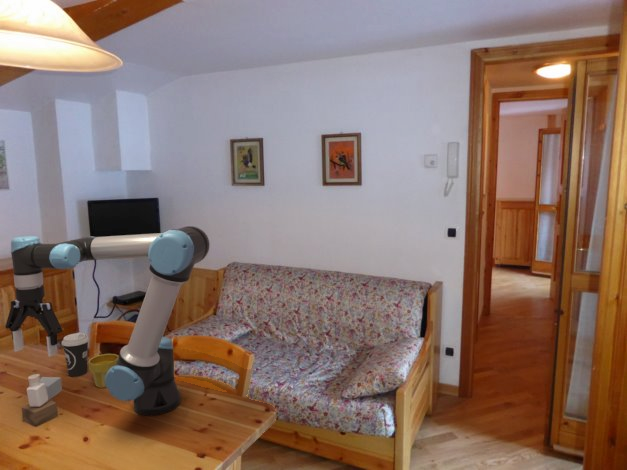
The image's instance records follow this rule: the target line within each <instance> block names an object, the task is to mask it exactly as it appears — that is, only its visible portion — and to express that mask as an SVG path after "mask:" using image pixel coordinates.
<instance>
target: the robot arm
mask: <svg viewBox="0 0 627 470" xmlns="http://www.w3.org/2000/svg"><path fill="white" fill-rule="evenodd" d="M210 245H211V244H210V239H209V236H208V235H207V234H206V232H205V231H204V230H202V229H201V228H199V227H196V226H189V225H188V226H183V227H181V228H171V229H169V230H167V231H165V232H161V233H160V232H159V233H157V232H155V233H141V234H125V235H110V236H92V235H91V236H90V235H89V236H83V237H81V238H75V239H70V240H67V241H62V242H56V243H42V242H41V241H40V237H38V236H37V235H26V236H24V235H23V236H18V237H13V239H11V242H10V253H11V260H12V268H13V269H12V270H13V281H14V287H15V291H14V292H15V300H11V302H10V310H9V313H8V316H7V320H6V322H5V329H9V331H11V338H12V342H13V350H14V351H13V352H14V353H17V352H20V351H22V350H24V349H25V346H24V336H23V335H24V334H23V329H22V325H23V323H24V322H25V320H26V318H27V317H31V318H34V319H35V320H37V321H38V322H39V323H40V325H41V327H42V328H43V330H45V332H46V333H47V335H46V347H47V356H48V357H49V358H50V357H54V355H57V354H58V334H60V333H62V332H63V328H62V325H61V323H60V322H59V320H58V317H57V316H56V314H55V311H54V309H53V304H52V302H47V303H44V302H43V299H44V298H45V287H44V285H43V284H44V275H43V269H50V270H51V269H53V270H54V269H55V270H67V269H69V270H71V269H74V268H76V267H77V265H78V264H79V263H81V262H86V261H100V260H101V261H102V260H115V259H116V260H117V259H118V260H119V259H120V260H121V259H142V258H143V259H144V258H148V260H149V262H150V263H149V267H148V271H149V273H150V274H151V279H150V280H149V283H148V287H147V289H146V293H145V297H144V298H143V301H142V304H141V308H140V310H139V312H138V316H137V318H136V321H135V324H134V328H133V330H132V333H131V335H130V337H129V341H128V344H126V345H124V346H123V347H121V349H120V351H119V354H118V359H117V362H116V364H115V366H113V367H111V368H110V369H109V371H108V372H107V373H106V376H105V384H106V387H105V388H106V389H108V392H109V394H110V395H111V396H112V397H114V398H115V399H117V400H118V401H122V402H130V401H131V402H132V401H133V403H132V404H133V405H132V406H133V410H134V412H135V413H137V414H138V415H141V416H158V415H163V414H165V413H168V412H170V411H173V410H174V409H176V408H178V406H180V404H181V402H182V401H181V399H182V397H181V393H180V390H179V389H178V385H177V384H176V380H175V366H174V346H173V340H172V339H171V338H169V337H167V336H164V333H165V330H166V328H167V327H168V323H169V320H170V317H171V315H172V311H173V308H174V307H175V303H176V300H177V298H178V295H179V291H180V289H181V287H182V285H183V284H185V283H187V282H188V281H189V280H190V277H191V274H192V272H193V269H194V268H195V267H194V266H195V265H196V264H198V263H200V262H201V261H203V260H204V259H206V257H207V255H208V253H209V251H210Z"/></svg>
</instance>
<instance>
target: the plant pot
mask: <svg viewBox="0 0 627 470" xmlns="http://www.w3.org/2000/svg"><path fill="white" fill-rule="evenodd" d="M118 356H119V354H116V353H104V354H100V355H96V356H95V355H94V356H93V357H91V358H90V359H88V360H87V365H88V371H89V372H90V373H91V375H92V378H93V382H94V385H95V386H96V388H99V389H100V388H103V389H104V388H107V387H106V384H105V376H106V373H107V372H108V371H109V369H110V368H111V367H113V366H115V364H116V362H117V359H118Z"/></svg>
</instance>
